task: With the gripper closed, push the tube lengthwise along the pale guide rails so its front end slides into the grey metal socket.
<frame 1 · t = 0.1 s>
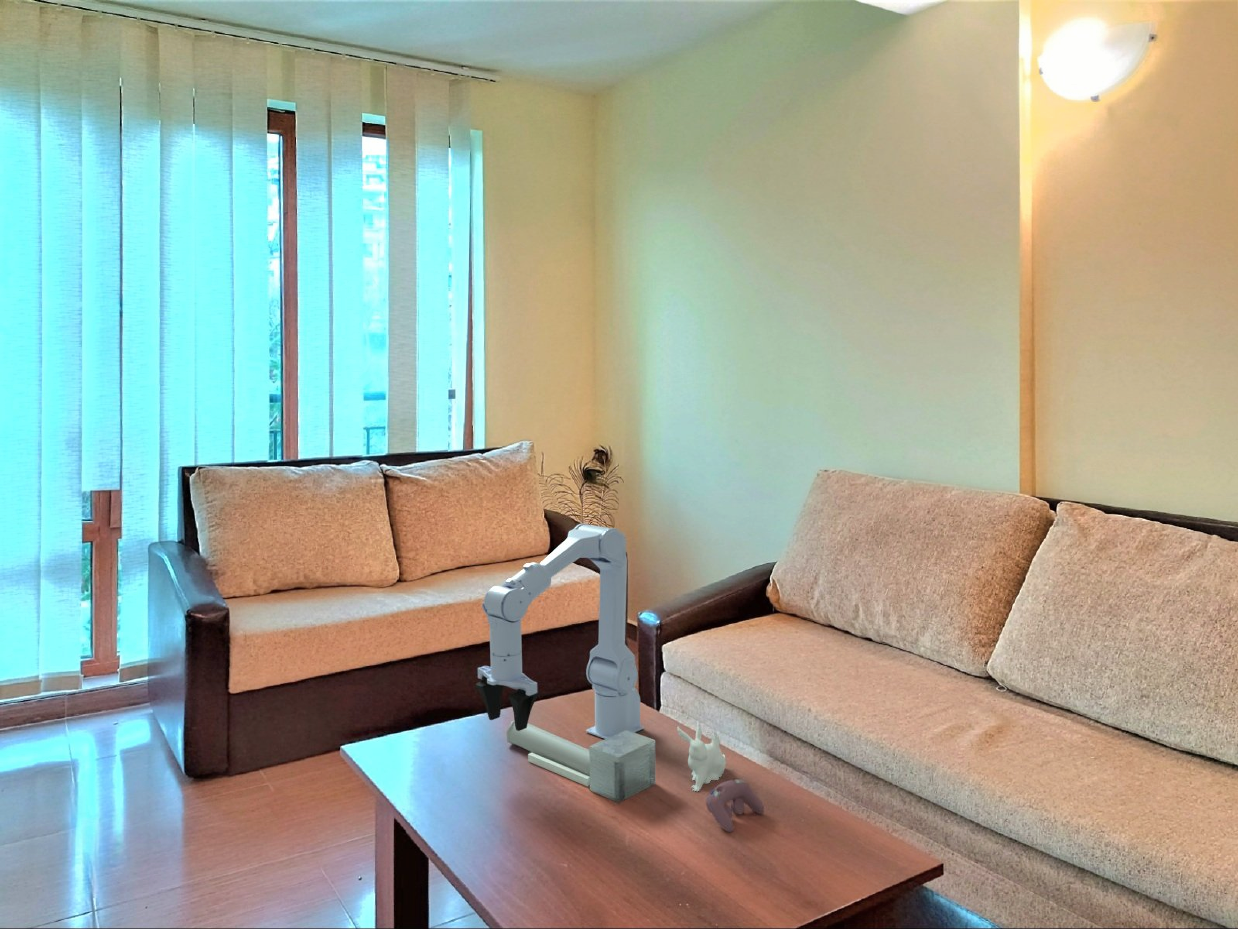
hand: (507, 723, 166), 10 cm above the table, tool pointing down, fingers open, 7 cm apart
rabbit figurine: (700, 777, 166), on the table
socket: (622, 787, 162), on the table
guide rails: (572, 766, 171), on the table
tube: (557, 762, 173), on the table
video game controller: (734, 820, 150), on the table
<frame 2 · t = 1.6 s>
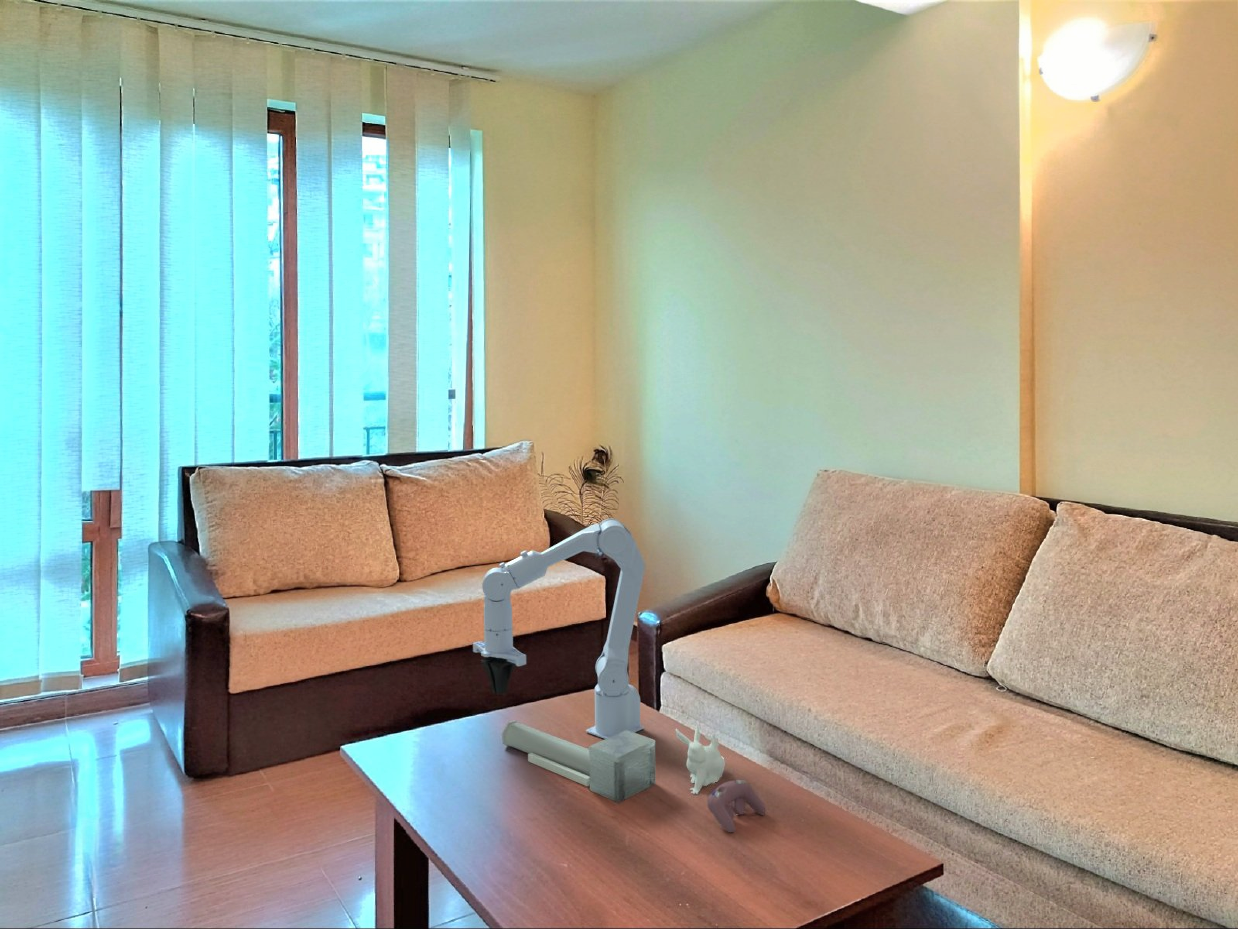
hand: (499, 692, 184), 9 cm above the table, tool pointing down, fingers closed
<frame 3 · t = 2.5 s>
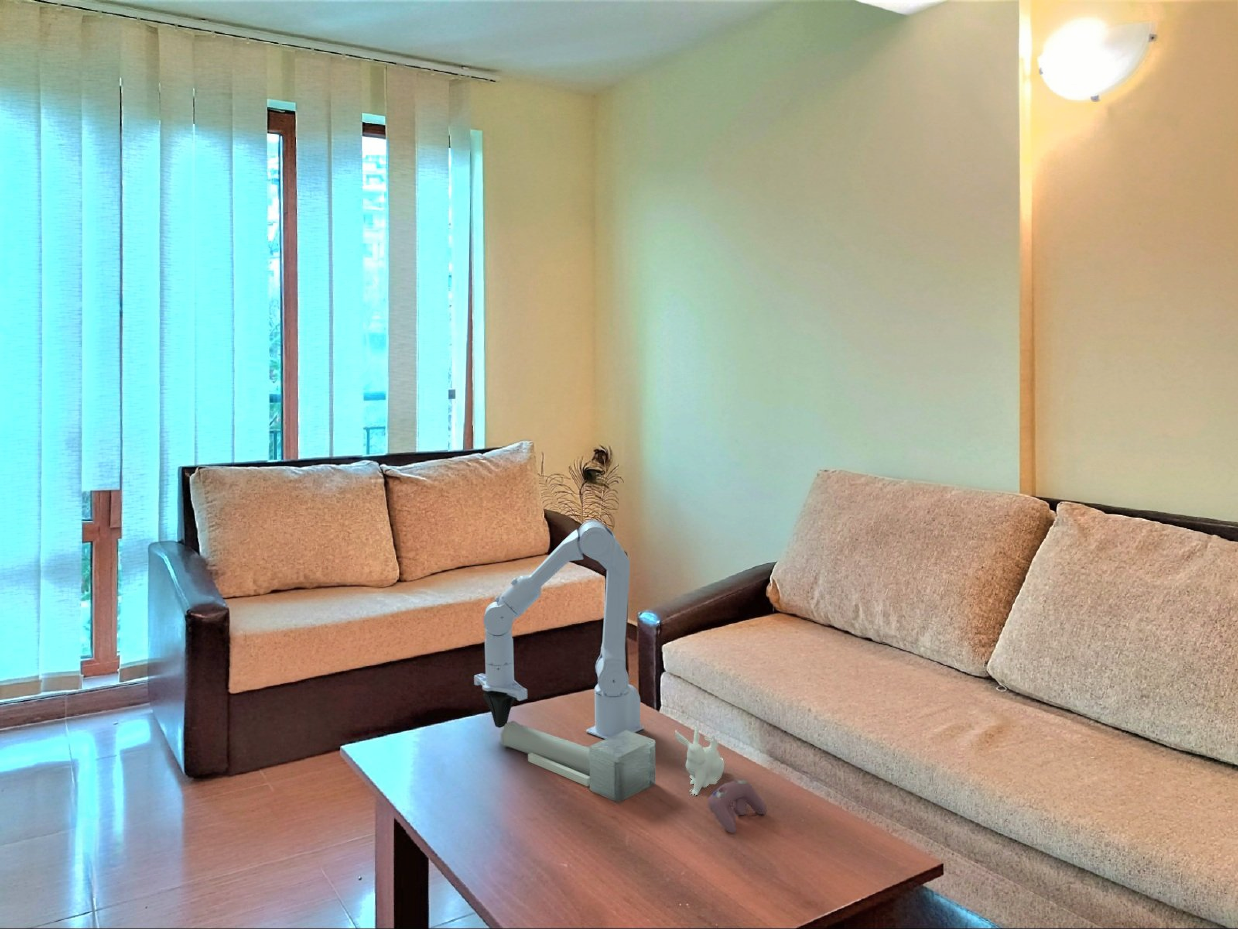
hand: (501, 725, 184), 2 cm above the table, tool pointing down, fingers closed
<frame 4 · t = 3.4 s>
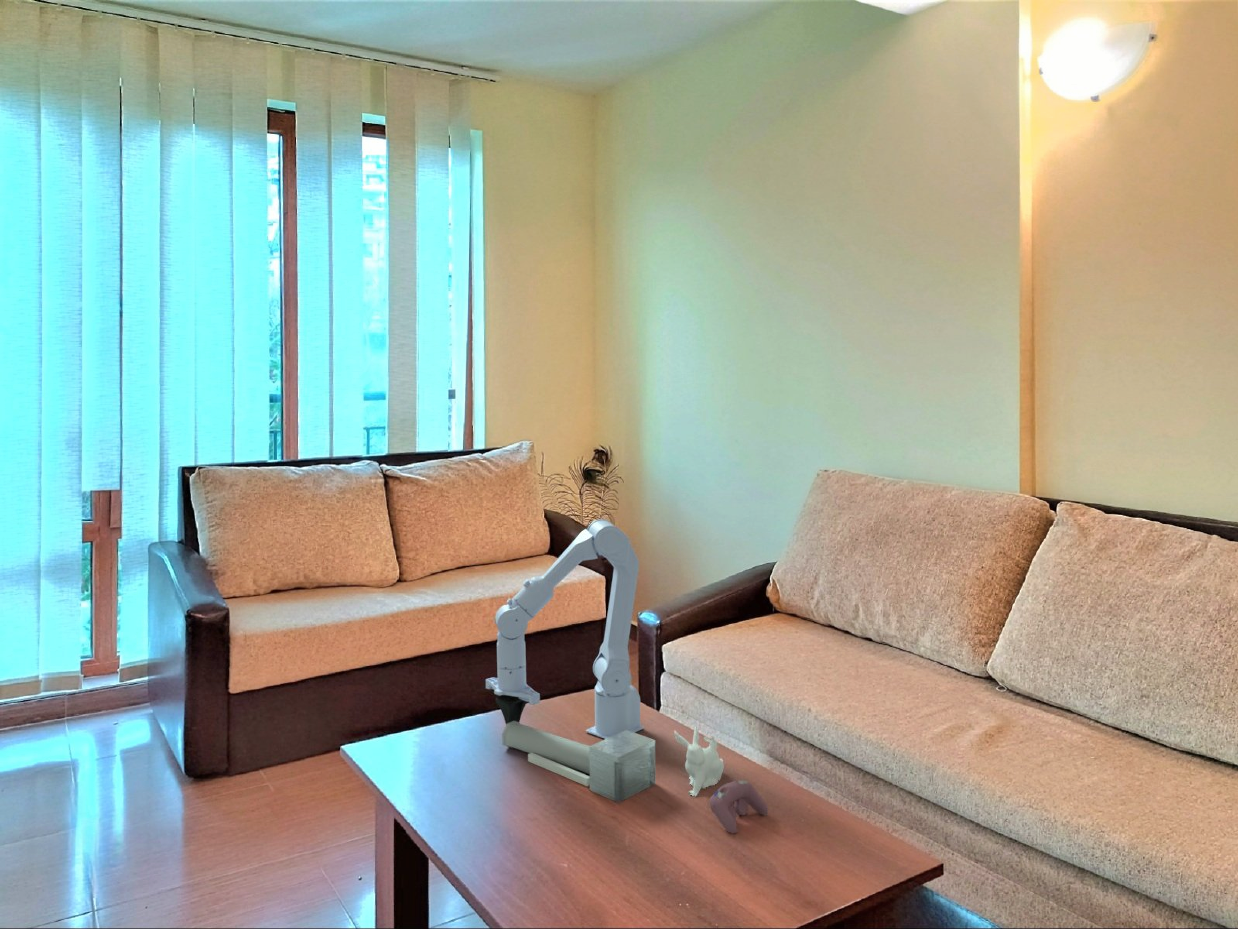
hand: (512, 730, 182), 2 cm above the table, tool pointing down, fingers closed
tube: (558, 762, 173), on the table, touching gripper
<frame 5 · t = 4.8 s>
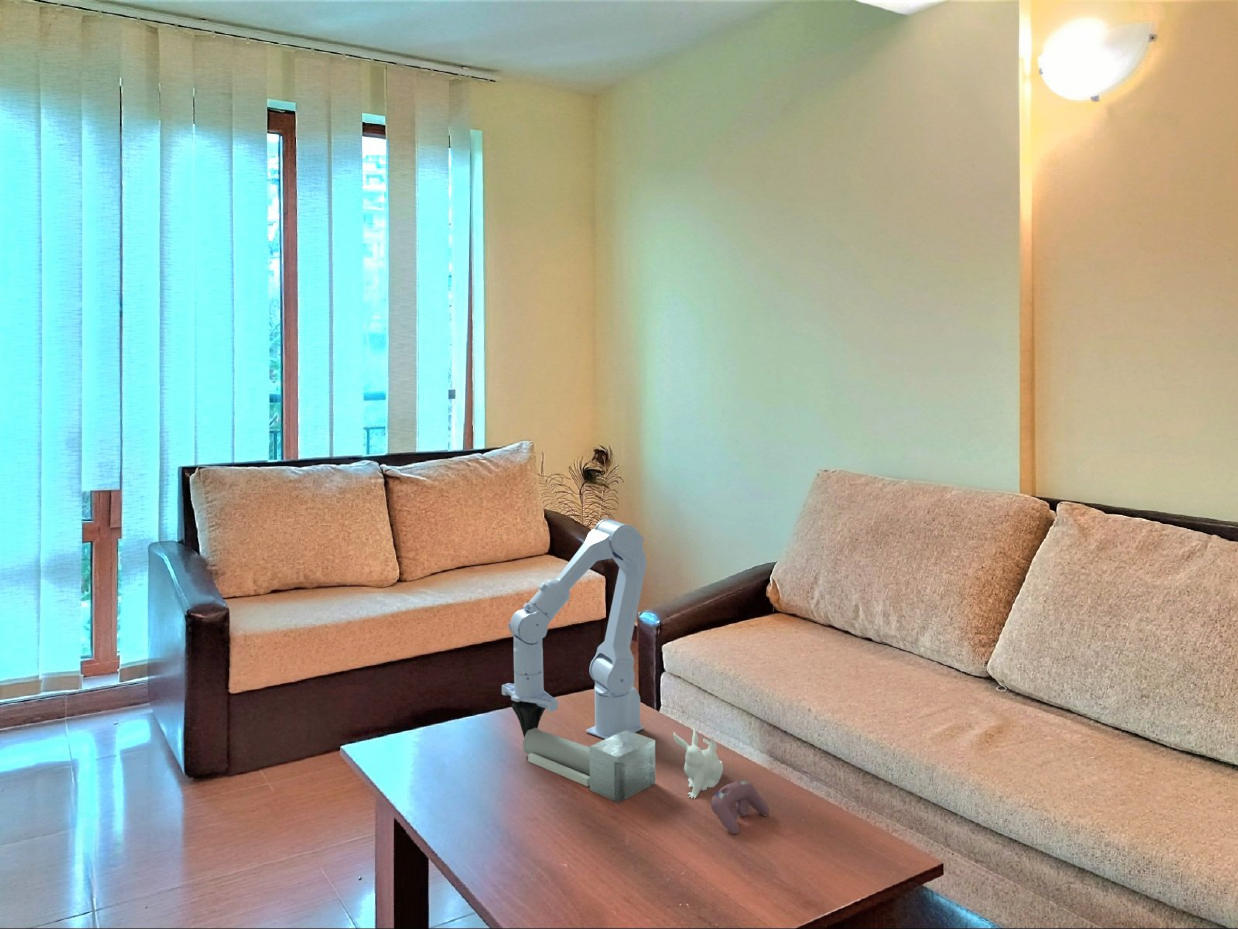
hand: (529, 737, 178), 2 cm above the table, tool pointing down, fingers closed
tube: (580, 771, 169), on the table
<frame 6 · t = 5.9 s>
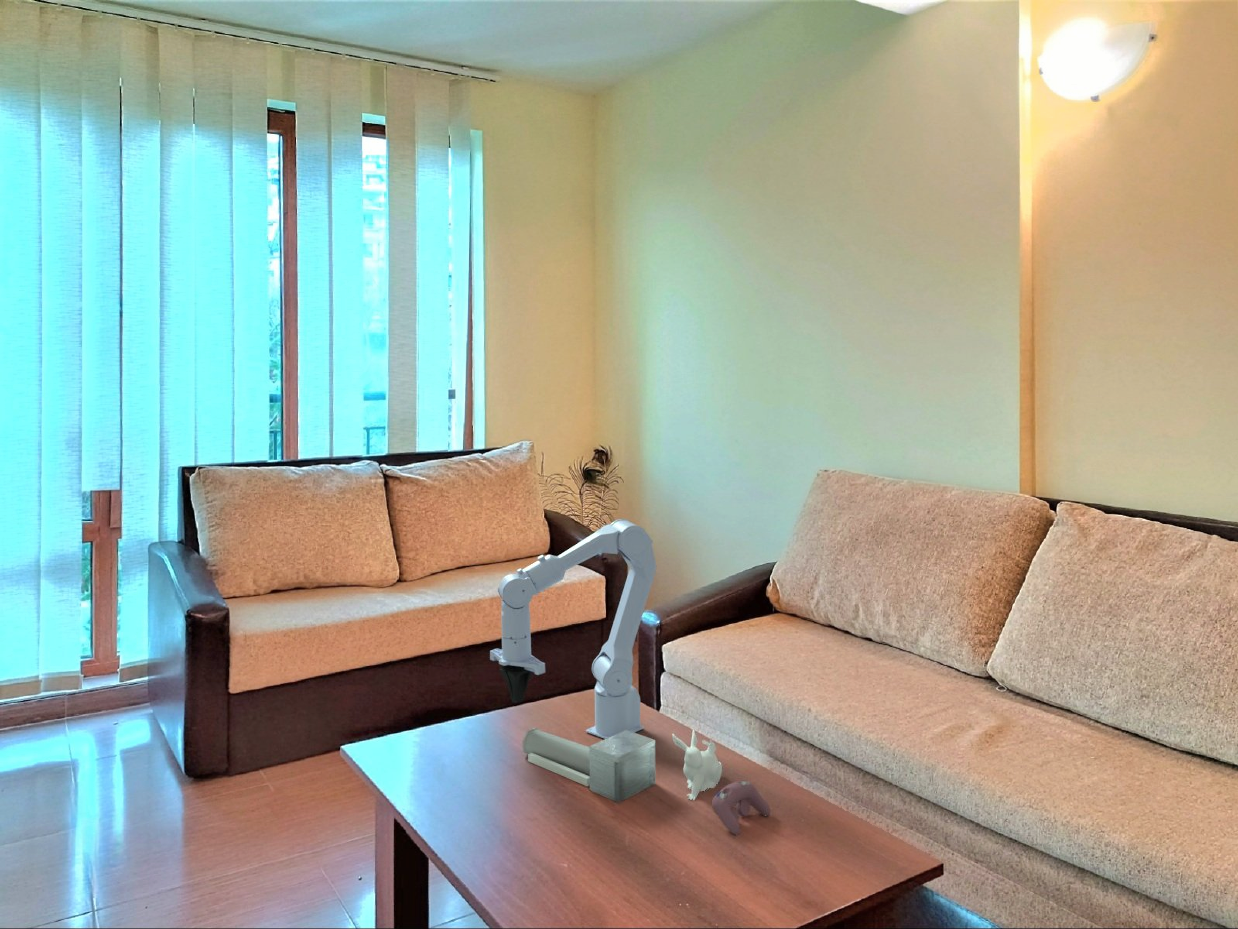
hand: (518, 701, 180), 9 cm above the table, tool pointing down, fingers closed
tube: (579, 771, 170), on the table, touching socket
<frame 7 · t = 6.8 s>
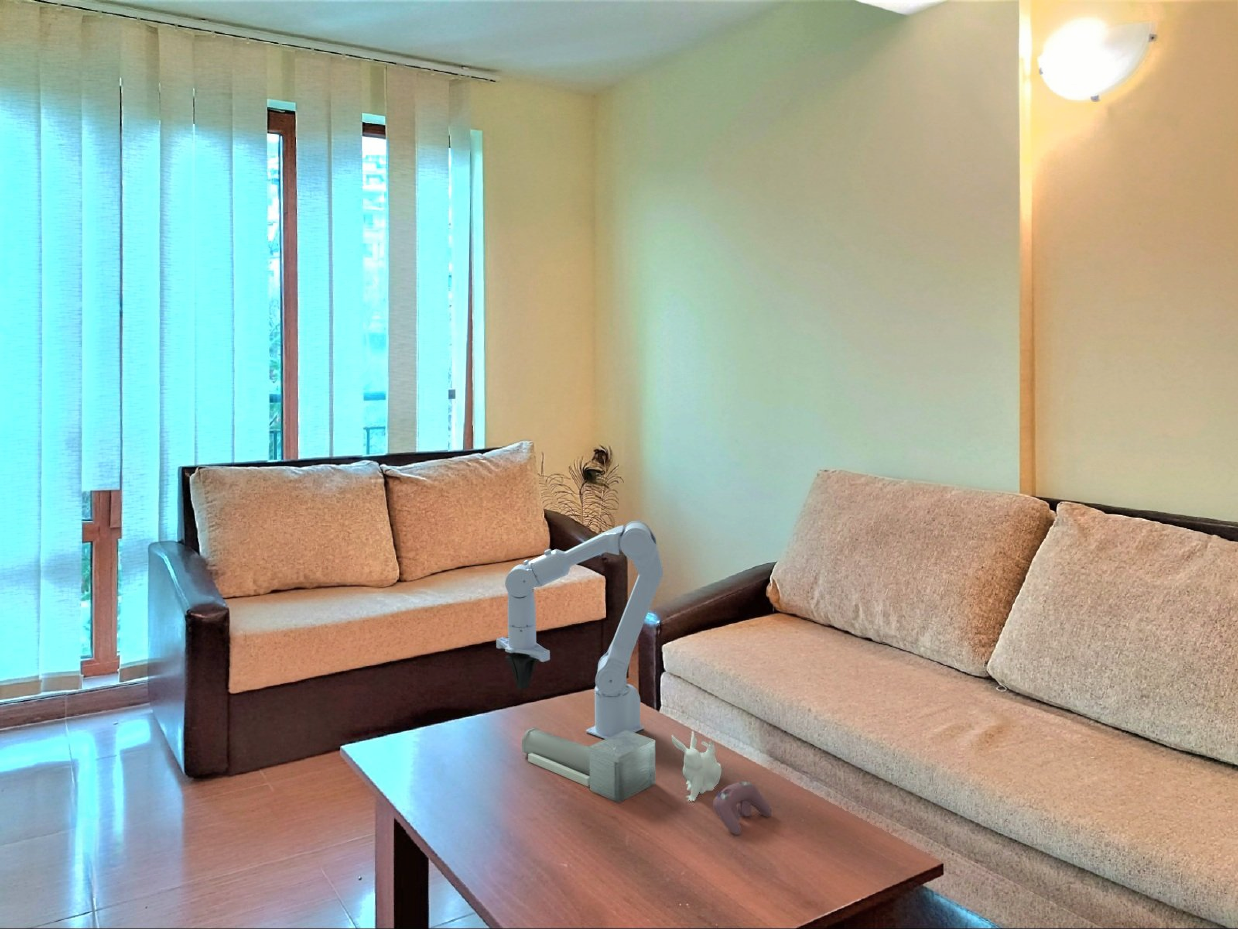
hand: (523, 687, 186), 9 cm above the table, tool pointing down, fingers closed
tube: (579, 771, 170), on the table, touching guide rails
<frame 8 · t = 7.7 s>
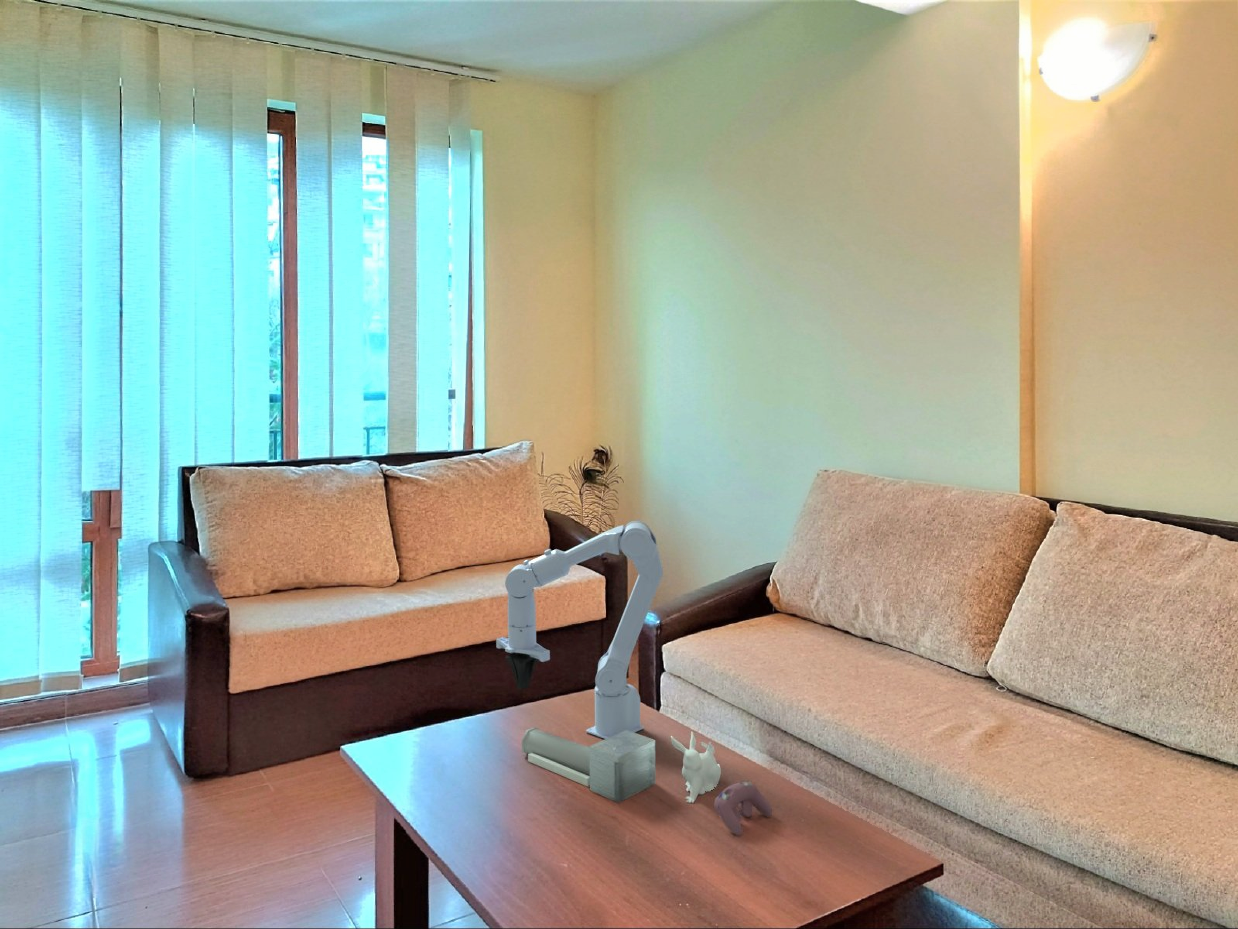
hand: (523, 687, 186), 9 cm above the table, tool pointing down, fingers closed
tube: (578, 770, 170), on the table
at the end: tube 0.4 cm from the target spot, on the table; tube 11.4 cm from the socket (horizontally) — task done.
